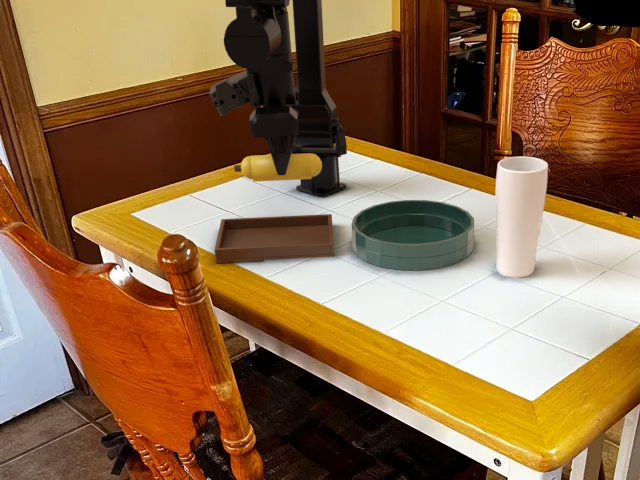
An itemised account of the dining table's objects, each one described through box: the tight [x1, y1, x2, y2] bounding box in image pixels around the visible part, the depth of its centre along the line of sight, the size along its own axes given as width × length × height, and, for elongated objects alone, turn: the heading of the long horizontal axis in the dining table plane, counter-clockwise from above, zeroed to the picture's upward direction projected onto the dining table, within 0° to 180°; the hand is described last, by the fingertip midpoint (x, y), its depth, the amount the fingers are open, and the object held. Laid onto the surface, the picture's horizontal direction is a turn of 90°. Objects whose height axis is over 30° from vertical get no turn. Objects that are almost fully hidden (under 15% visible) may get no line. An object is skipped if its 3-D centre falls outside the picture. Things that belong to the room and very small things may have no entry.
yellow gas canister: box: [233, 153, 322, 183], centre depth 121 cm, size 12×3×3 cm, turn 95°
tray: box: [214, 213, 335, 264], centre depth 127 cm, size 17×12×2 cm
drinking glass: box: [494, 155, 549, 279], centre depth 115 cm, size 7×7×15 cm
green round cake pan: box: [350, 199, 475, 271], centre depth 125 cm, size 18×18×4 cm
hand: (281, 170), depth 121 cm, fingers closed on yellow gas canister, 3 cm apart
